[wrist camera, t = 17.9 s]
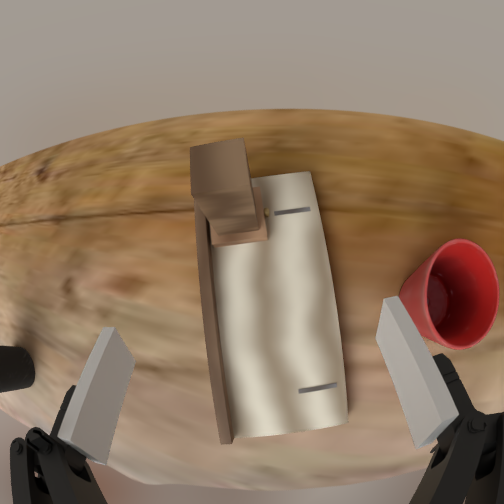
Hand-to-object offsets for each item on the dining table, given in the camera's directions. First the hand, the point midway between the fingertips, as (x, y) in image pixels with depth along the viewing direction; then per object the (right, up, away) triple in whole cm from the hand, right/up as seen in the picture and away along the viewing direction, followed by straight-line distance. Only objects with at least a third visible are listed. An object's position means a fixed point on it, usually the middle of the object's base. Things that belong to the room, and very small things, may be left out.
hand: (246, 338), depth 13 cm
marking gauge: (-1, +8, +20) cm, 21 cm away
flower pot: (+22, -2, +17) cm, 28 cm away
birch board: (+2, -2, +19) cm, 19 cm away
